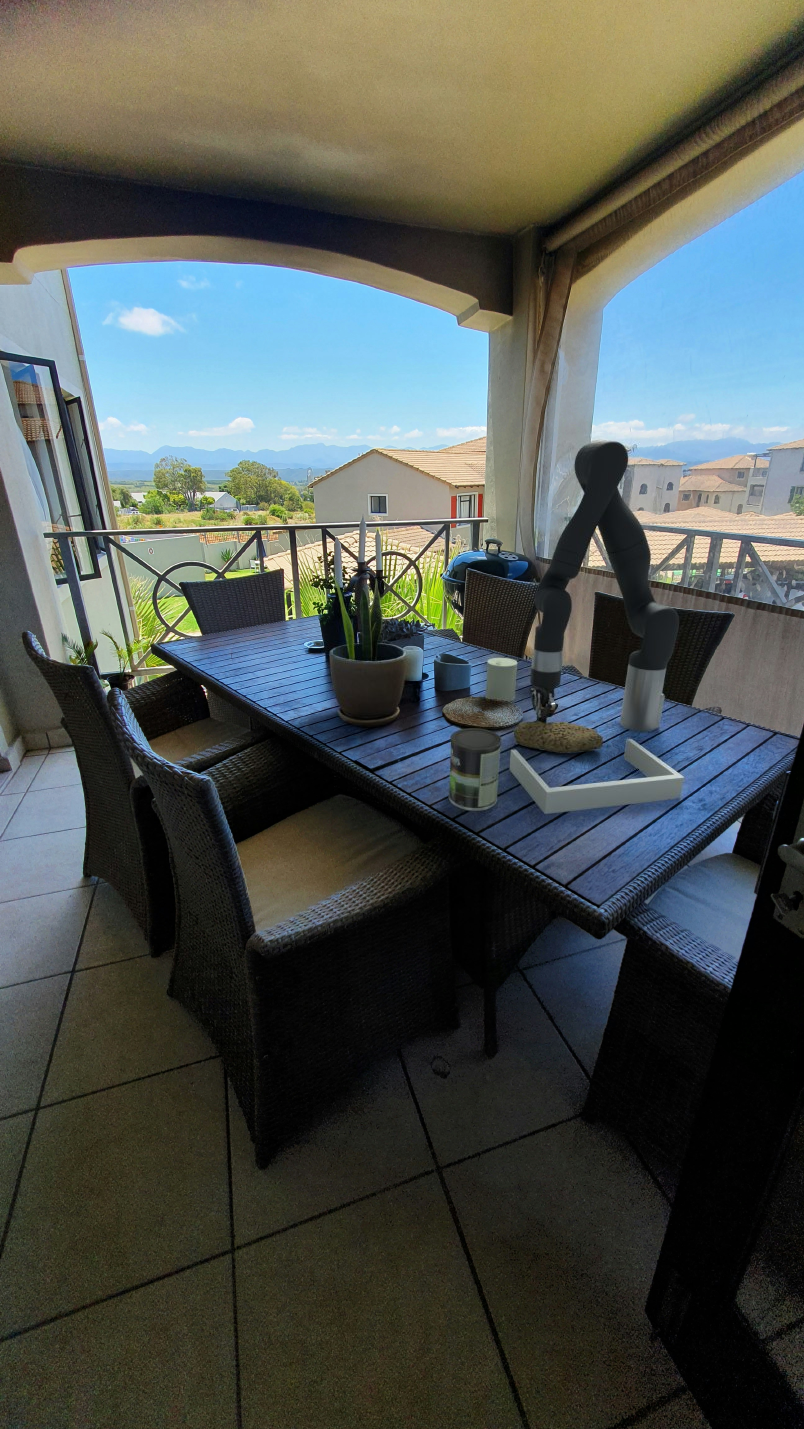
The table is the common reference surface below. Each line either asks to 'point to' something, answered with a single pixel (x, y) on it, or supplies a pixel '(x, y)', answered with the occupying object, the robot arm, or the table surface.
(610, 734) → the table surface
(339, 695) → the potted plant
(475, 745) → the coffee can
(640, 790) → the box
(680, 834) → the table surface
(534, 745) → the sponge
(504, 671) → the pillar candle
